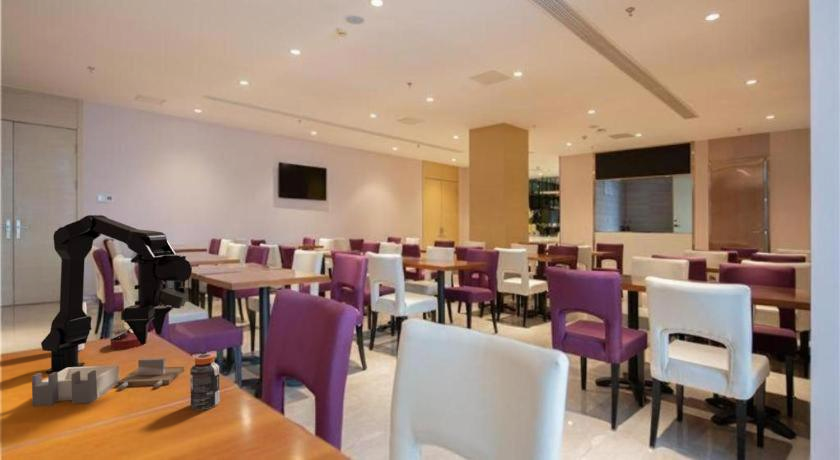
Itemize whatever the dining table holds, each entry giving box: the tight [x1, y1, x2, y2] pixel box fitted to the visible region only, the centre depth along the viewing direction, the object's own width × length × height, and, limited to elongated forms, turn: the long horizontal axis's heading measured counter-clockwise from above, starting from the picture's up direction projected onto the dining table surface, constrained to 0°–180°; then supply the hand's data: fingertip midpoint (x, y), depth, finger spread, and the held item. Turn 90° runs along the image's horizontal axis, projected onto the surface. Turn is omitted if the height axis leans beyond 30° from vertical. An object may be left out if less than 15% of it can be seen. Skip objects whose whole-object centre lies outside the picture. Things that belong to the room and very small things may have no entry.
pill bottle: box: [189, 353, 220, 411], centre depth 100 cm, size 6×6×11 cm
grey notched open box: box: [31, 364, 120, 407], centre depth 105 cm, size 12×12×7 cm
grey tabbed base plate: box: [117, 356, 185, 391], centre depth 114 cm, size 12×12×5 cm
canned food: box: [110, 327, 144, 351], centre depth 145 cm, size 11×10×10 cm
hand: (151, 339), depth 115 cm, fingers open, 9 cm apart
